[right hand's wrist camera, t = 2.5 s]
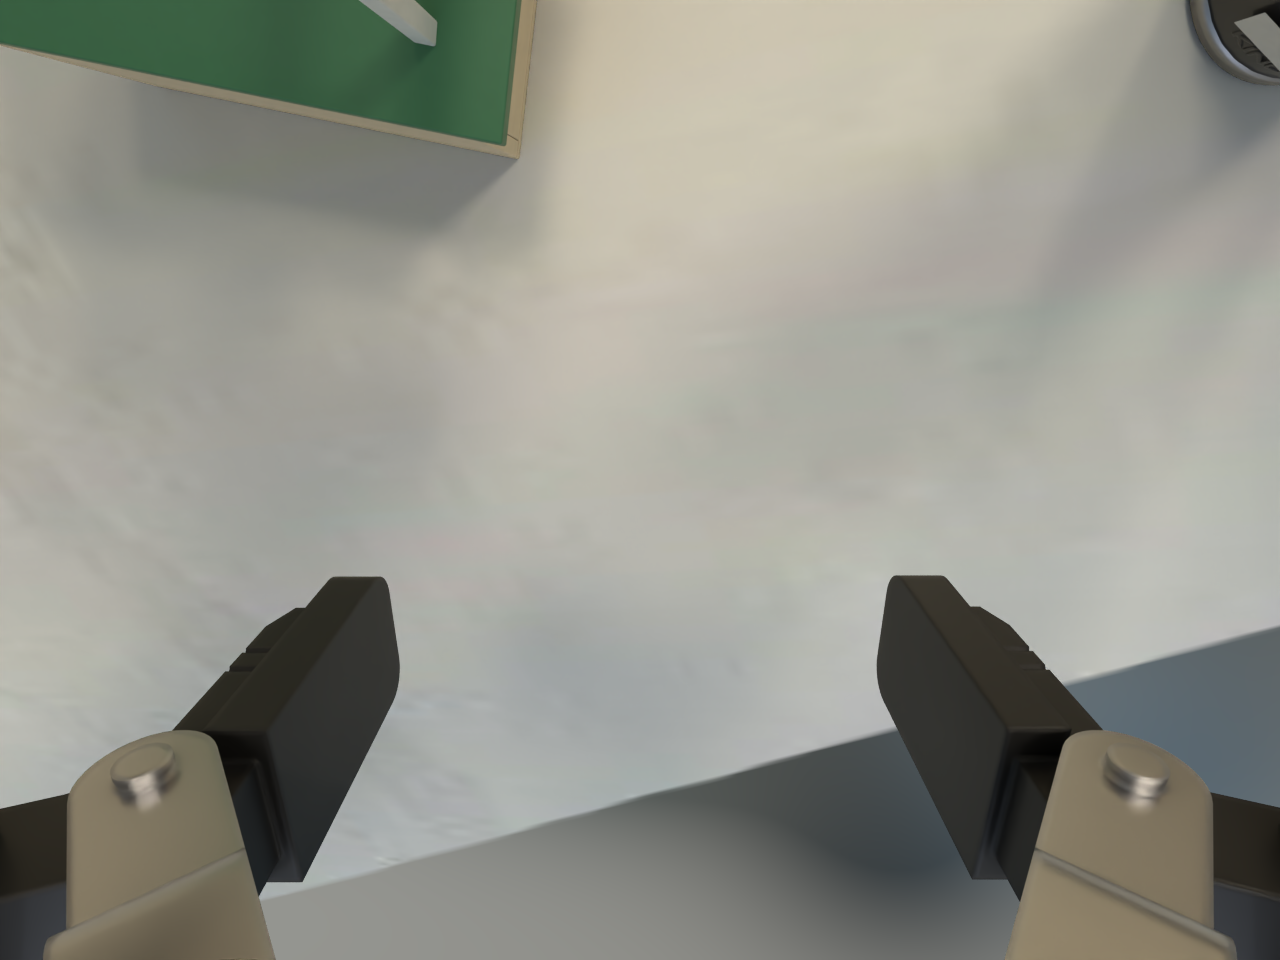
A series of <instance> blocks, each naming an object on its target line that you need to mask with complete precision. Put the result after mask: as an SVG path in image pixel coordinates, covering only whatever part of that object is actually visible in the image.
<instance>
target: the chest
mask: <svg viewBox="0 0 1280 960" xmlns="http://www.w3.org/2000/svg"><path fill="white" fill-rule="evenodd" d="M536 5H537V0H522V2H521V11H520V21H519V30H518V40H517V49H516V59H515V68H514V77H513V87H512V96H511V106H510V115H509V124H508V134H507V143H506V146H499V145H495V144H490V143H485V142H480V141H475V140H470V139H465V138H460V137H455V136H450V135H445V134H440V133H435V132H431V131H426V130H421V129H416V128H411V127H406V126H401V125H396V124H391V123H386V122H381V121H376V120H371V119H366V118H362V117H357V116H352V115H347V114H342V113H337V112H332V111H327V110H322V109H317V108H312V107H307V106H302V105H298V104H293V103H288V102H283V101H278V100H273V99H268V98H263V97H258V96H253V95H248V94H243V93H238V92H234V91H229V90H224V89H219V88H214V87H209V86H204V85H199V84H194V83H189V82H184V81H179V80H174V79H169V78H165V77H160V76H155V75H150V74H145V73H140V72H135V71H130V70H125V69H120V68H115V67H110V66H105V65H101V64H96V63H91V62H86V61H81V60H76V59H71V58H66V57H61V56H56V55H51V54H46V53H41V52H36V51H32V50H27V49H22V48H17V47H12V46H7V45H2V44H0V45H1V46H4V47H8V48H12V49H16V50H20V51H24V52H27V53H31V54H35V55H39V56H43V57H47V58H51V59H54V60H58V61H62V62H66V63H70V64H74V65H77V66H81V67H85V68H89V69H93V70H97V71H100V72H104V73H108V74H112V75H116V76H120V77H123V78H127V79H131V80H135V81H139V82H143V83H146V84H150V85H154V86H158V87H163V88H168V89H173V90H178V91H183V92H188V93H193V94H198V95H203V96H208V97H213V98H217V99H222V100H227V101H232V102H237V103H242V104H247V105H252V106H257V107H262V108H267V109H272V110H277V111H282V112H287V113H292V114H297V115H302V116H307V117H312V118H316V119H321V120H326V121H331V122H336V123H341V124H346V125H351V126H356V127H361V128H366V129H371V130H376V131H381V132H386V133H391V134H396V135H401V136H406V137H411V138H415V139H420V140H425V141H430V142H435V143H440V144H445V145H450V146H455V147H460V148H465V149H470V150H475V151H480V152H485V153H490V154H495V155H500V156H505V157H509V158H514V159H519V155H520V147H521V138H522V129H523V120H524V111H525V102H526V93H527V85H528V76H529V67H530V58H531V49H532V40H533V31H534V23H535V14H536Z"/></svg>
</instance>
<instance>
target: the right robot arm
mask: <svg viewBox="0 0 1280 960" xmlns="http://www.w3.org/2000/svg"><path fill="white" fill-rule="evenodd" d="M1190 6H1191V13H1192V18H1193V23H1194V26H1195V29H1196V32H1197V35H1198V37H1199V39H1200V41H1201V43H1202V45H1203V47H1204V48H1205V50H1206V52H1207V53H1208V54H1209V56H1210V57H1211V58H1212V59H1213V60H1214V61H1215V62H1216V63H1217V64H1218V65H1219V66H1220V67H1221V68H1222V69H1224V70H1225V71H1226V72H1228V73H1229V74H1231V75H1233V76H1235V77H1236V78H1239V79H1241V80H1244V81H1247V82H1251V83H1254V84H1261V85H1280V0H1190ZM399 673H400V663H399V654H398V647H397V641H396V634H395V627H394V620H393V614H392V607H391V600H390V593H389V588H388V585H387V583H386V581H385V579H384V578H383V577H332V578H330V579H329V580H328V582H327V583H326V584H325V585H324V586H323V587H322V589H321V590H320V591H319V592H318V593H317V595H316V596H315V597H314V598H313V599H312V601H311V602H310V603H309V604H308V605H307V606H306V608H295V609H293V610H292V611H290V612H289V613H287V614H285V615H284V616H282V617H280V618H279V619H277V620H276V621H274V622H272V623H271V624H269V625H267V626H266V627H265V628H264V629H263V630H262V631H261V632H260V634H259V635H258V636H257V637H256V638H255V639H254V640H253V641H252V642H251V644H250V645H249V646H248V647H247V648H246V653H242V654H241V655H240V656H239V657H238V658H237V659H236V660H235V661H234V662H233V664H232V665H231V666H230V670H229V672H224V674H223V675H222V676H221V677H220V678H219V679H218V680H217V681H216V682H215V684H214V685H213V686H212V687H211V688H210V689H209V690H208V691H207V692H206V694H205V695H204V696H203V697H202V698H201V699H200V700H199V701H198V703H197V704H196V705H195V706H194V707H193V708H192V709H191V710H190V711H189V713H188V714H187V715H186V716H185V717H184V718H183V719H182V720H181V721H180V723H179V724H178V725H177V726H176V727H175V728H174V729H173V730H172V731H168V732H162V733H158V734H154V735H150V736H147V737H144V738H141V739H138V740H136V741H133V742H131V743H129V744H126V745H124V746H122V747H120V748H118V749H116V750H115V751H113V752H111V753H110V754H108V755H106V756H105V757H103V758H102V759H100V760H99V761H98V762H96V763H95V764H94V765H92V766H91V767H90V768H89V769H88V770H87V771H85V772H84V774H83V775H82V776H81V777H80V778H79V779H78V780H77V782H76V783H75V784H74V786H73V787H72V789H71V791H70V793H69V794H65V795H61V796H56V797H52V798H47V799H43V800H38V801H34V802H29V803H25V804H20V805H16V806H11V807H7V808H2V809H0V960H276V959H275V955H274V951H273V948H272V944H271V940H270V937H269V933H268V929H267V926H266V922H265V919H264V915H263V911H262V907H261V904H260V900H259V895H260V893H261V891H262V890H263V888H264V886H265V884H266V882H303V880H304V878H305V876H306V874H307V872H308V870H309V868H310V866H311V864H312V862H313V860H314V858H315V856H316V854H317V852H318V850H319V848H320V846H321V844H322V842H323V840H324V838H325V836H326V834H327V832H328V830H329V828H330V826H331V824H332V822H333V820H334V818H335V816H336V814H337V812H338V810H339V808H340V806H341V804H342V802H343V800H344V798H345V796H346V794H347V792H348V790H349V788H350V786H351V784H352V782H353V780H354V778H355V776H356V774H357V772H358V770H359V768H360V766H361V764H362V762H363V760H364V758H365V756H366V755H367V753H368V751H369V749H370V747H371V745H372V743H373V741H374V739H375V737H376V735H377V733H378V731H379V729H380V727H381V725H382V723H383V721H384V719H385V717H386V715H387V713H388V711H389V709H390V707H391V705H392V703H393V701H394V698H395V695H396V692H397V688H398V682H399ZM877 678H878V685H879V689H880V693H881V696H882V698H883V701H884V703H885V705H886V707H887V709H888V711H889V713H890V715H891V717H892V719H893V721H894V723H895V725H896V727H897V729H898V731H899V733H900V735H901V737H902V739H903V741H904V743H905V745H906V747H907V749H908V751H909V753H910V755H911V757H912V759H913V761H914V763H915V765H916V767H917V769H918V771H919V773H920V775H921V777H922V779H923V781H924V783H925V785H926V787H927V789H928V791H929V793H930V795H931V797H932V799H933V801H934V803H935V806H936V808H937V810H938V812H939V814H940V815H941V818H942V820H943V822H944V824H945V826H946V828H947V830H948V832H949V834H950V836H951V838H952V840H953V842H954V844H955V846H956V848H957V850H958V852H959V854H960V856H961V858H962V860H963V862H964V864H965V866H966V868H967V870H968V872H969V874H970V876H971V878H972V879H1008V881H1009V883H1010V885H1011V887H1012V888H1013V890H1014V892H1015V894H1016V896H1017V897H1018V899H1019V901H1020V904H1019V907H1018V911H1017V915H1016V918H1015V922H1014V926H1013V929H1012V933H1011V937H1010V940H1009V944H1008V948H1007V951H1006V955H1005V959H1004V960H1280V808H1278V807H1274V806H1270V805H1265V804H1260V803H1256V802H1251V801H1247V800H1242V799H1238V798H1233V797H1229V796H1224V795H1220V794H1215V793H1211V792H1210V791H1209V789H1208V787H1207V786H1206V784H1205V783H1204V782H1203V780H1202V779H1201V778H1200V777H1199V776H1198V775H1197V774H1196V772H1195V771H1193V770H1192V769H1191V768H1190V767H1189V766H1188V765H1186V764H1185V763H1184V762H1182V761H1181V760H1180V759H1178V758H1177V757H1175V756H1174V755H1172V754H1170V753H1169V752H1167V751H1165V750H1164V749H1162V748H1160V747H1158V746H1155V745H1153V744H1151V743H1149V742H1147V741H1144V740H1142V739H1139V738H1136V737H1133V736H1129V735H1126V734H1122V733H1118V732H1112V731H1104V730H1103V729H1102V728H1101V727H1100V726H1099V725H1098V724H1097V723H1096V722H1095V720H1094V719H1093V718H1092V717H1091V716H1090V715H1089V714H1088V713H1087V711H1086V710H1085V709H1084V708H1083V707H1082V706H1081V705H1080V704H1079V702H1078V701H1077V700H1076V699H1075V698H1074V697H1073V696H1072V695H1071V694H1070V692H1069V691H1068V690H1067V689H1066V688H1065V687H1064V686H1063V685H1062V683H1061V682H1060V681H1059V680H1058V679H1057V678H1056V677H1055V676H1054V674H1053V673H1052V672H1051V671H1050V670H1046V669H1045V664H1044V663H1043V662H1042V661H1041V660H1040V659H1039V658H1038V656H1037V655H1036V654H1035V653H1034V652H1033V651H1029V646H1028V645H1027V644H1026V643H1025V642H1024V641H1023V640H1022V638H1021V637H1020V636H1019V635H1018V634H1017V633H1016V632H1015V631H1014V630H1013V628H1012V627H1011V626H1010V625H1009V624H1007V623H1005V622H1004V621H1002V620H1001V619H999V618H997V617H996V616H994V615H992V614H991V613H989V612H988V611H986V610H984V609H983V608H981V607H970V606H969V605H968V603H967V602H966V601H965V600H964V599H963V597H962V596H961V595H960V594H959V593H958V591H957V590H956V589H955V588H954V587H953V585H952V584H951V583H950V582H949V581H948V579H947V578H946V577H944V576H893V577H892V578H891V580H890V582H889V584H888V588H887V594H886V601H885V607H884V614H883V621H882V628H881V635H880V642H879V649H878V655H877Z"/></svg>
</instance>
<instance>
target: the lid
mask: <svg viewBox="0 0 1280 960" xmlns="http://www.w3.org/2000/svg"><path fill="white" fill-rule="evenodd" d="M521 2H522V0H0V44H2V45H7V46H12V47H17V48H22V49H27V50H32V51H36V52H41V53H46V54H51V55H56V56H61V57H66V58H71V59H76V60H81V61H86V62H91V63H96V64H101V65H105V66H110V67H115V68H120V69H125V70H130V71H135V72H140V73H145V74H150V75H155V76H160V77H165V78H169V79H174V80H179V81H184V82H189V83H194V84H199V85H204V86H209V87H214V88H219V89H224V90H229V91H234V92H238V93H243V94H248V95H253V96H258V97H263V98H268V99H273V100H278V101H283V102H288V103H293V104H298V105H302V106H307V107H312V108H317V109H322V110H327V111H332V112H337V113H342V114H347V115H352V116H357V117H362V118H366V119H371V120H376V121H381V122H386V123H391V124H396V125H401V126H406V127H411V128H416V129H421V130H426V131H431V132H435V133H440V134H445V135H450V136H455V137H460V138H465V139H470V140H475V141H480V142H485V143H490V144H495V145H499V146H506V143H507V134H508V124H509V115H510V106H511V96H512V87H513V77H514V68H515V59H516V49H517V40H518V30H519V21H520V11H521Z"/></svg>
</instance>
